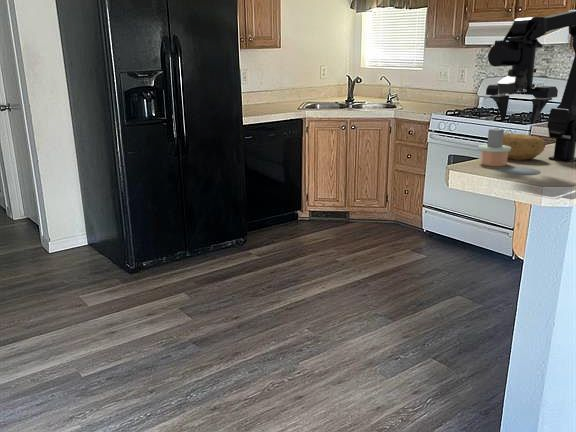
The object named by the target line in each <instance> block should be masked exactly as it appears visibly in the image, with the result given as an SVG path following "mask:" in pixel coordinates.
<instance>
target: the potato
mask: <svg viewBox="0 0 576 432" xmlns="http://www.w3.org/2000/svg"><path fill="white" fill-rule="evenodd" d="M502 145H506V146H510V147H511V151H509V152H508V158H507V159H510V160H516V161H523V160H524V161H525V160H533V159H535V158H536V157H537V156H539V155H541V154H542V153H543V152H544V151H545V148H546V142H545V140H544V139H543V138H540V137H539V136H534V135H528V134H523V133H513V132H505V133H504V134H503V144H502Z"/></svg>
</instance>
